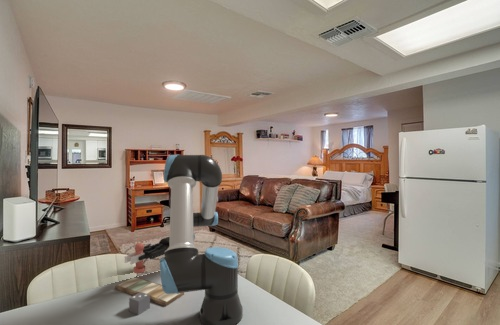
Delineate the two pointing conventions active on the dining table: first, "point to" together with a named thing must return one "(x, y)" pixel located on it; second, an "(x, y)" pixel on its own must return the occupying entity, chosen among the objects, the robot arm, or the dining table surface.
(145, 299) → the die
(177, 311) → the dining table surface
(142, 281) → the board
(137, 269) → the pawn
